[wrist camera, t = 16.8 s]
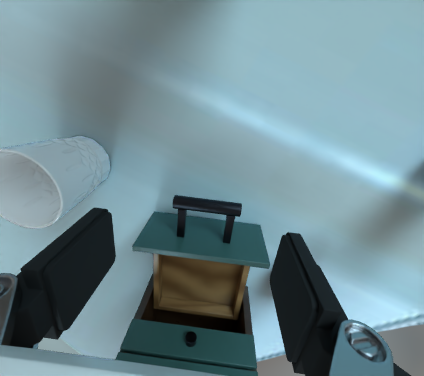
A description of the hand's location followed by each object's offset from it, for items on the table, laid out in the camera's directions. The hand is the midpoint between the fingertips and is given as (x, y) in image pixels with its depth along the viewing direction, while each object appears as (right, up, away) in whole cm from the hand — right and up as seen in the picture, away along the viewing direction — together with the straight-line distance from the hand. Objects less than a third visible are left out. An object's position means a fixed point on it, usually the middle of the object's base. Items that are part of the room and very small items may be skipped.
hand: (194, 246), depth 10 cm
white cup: (-16, +7, +18) cm, 25 cm away
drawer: (0, -6, +22) cm, 23 cm away
